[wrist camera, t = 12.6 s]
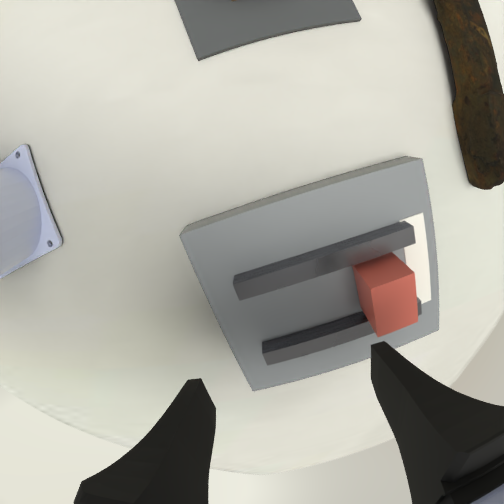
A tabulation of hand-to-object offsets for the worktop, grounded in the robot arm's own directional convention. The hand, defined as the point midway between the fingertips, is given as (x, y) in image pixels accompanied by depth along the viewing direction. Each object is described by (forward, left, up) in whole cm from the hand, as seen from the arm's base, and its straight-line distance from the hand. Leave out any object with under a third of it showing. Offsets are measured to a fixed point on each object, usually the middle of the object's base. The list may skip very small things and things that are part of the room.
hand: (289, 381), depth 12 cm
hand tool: (+18, +12, -9) cm, 23 cm away
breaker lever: (+6, 0, -6) cm, 8 cm away
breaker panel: (+3, 0, -8) cm, 9 cm away
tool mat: (+5, +20, -8) cm, 22 cm away
